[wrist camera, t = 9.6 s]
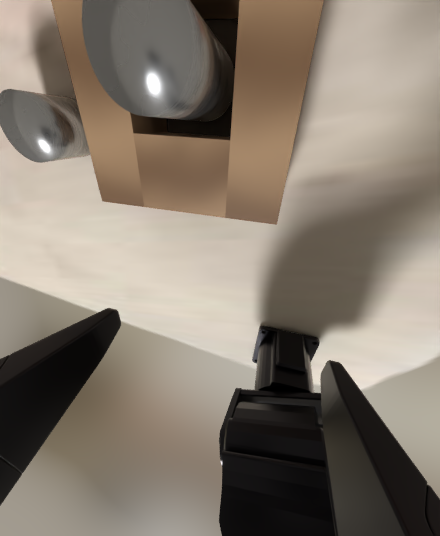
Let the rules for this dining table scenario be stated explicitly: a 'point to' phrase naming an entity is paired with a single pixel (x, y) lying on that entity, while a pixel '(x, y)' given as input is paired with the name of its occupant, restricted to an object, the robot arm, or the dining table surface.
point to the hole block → (205, 146)
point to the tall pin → (158, 58)
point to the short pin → (43, 125)
